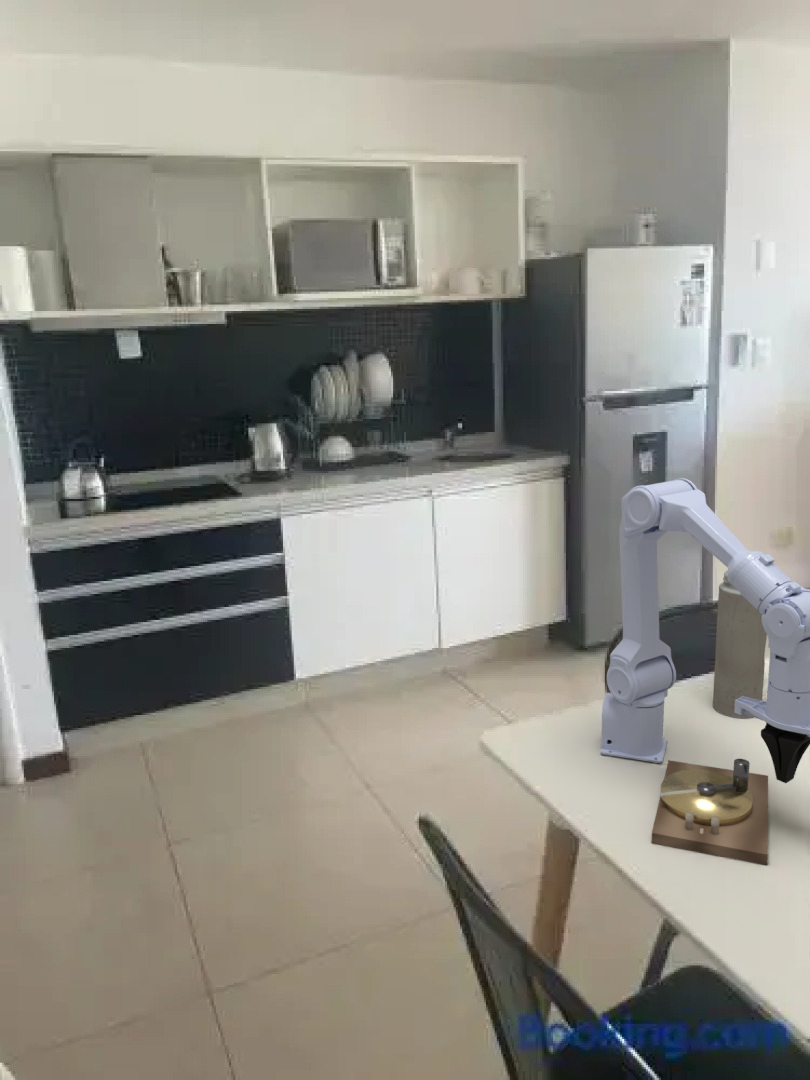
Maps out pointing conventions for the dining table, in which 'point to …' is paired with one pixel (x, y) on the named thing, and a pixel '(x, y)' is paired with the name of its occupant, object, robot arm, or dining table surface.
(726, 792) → the dial
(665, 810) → the walnut stand
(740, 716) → the thermos bottle
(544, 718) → the dining table surface
